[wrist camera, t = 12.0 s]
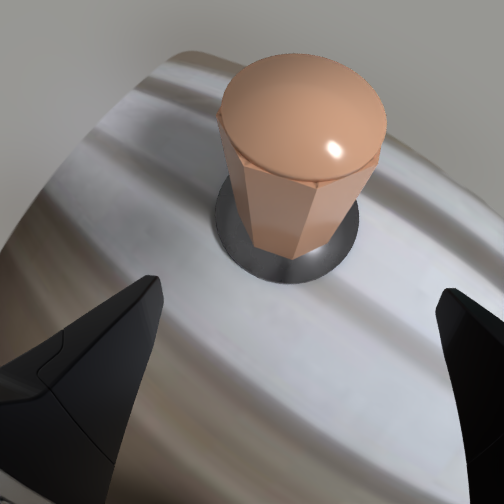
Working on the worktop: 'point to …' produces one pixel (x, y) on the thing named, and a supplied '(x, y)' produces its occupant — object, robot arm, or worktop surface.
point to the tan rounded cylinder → (298, 148)
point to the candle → (273, 264)
